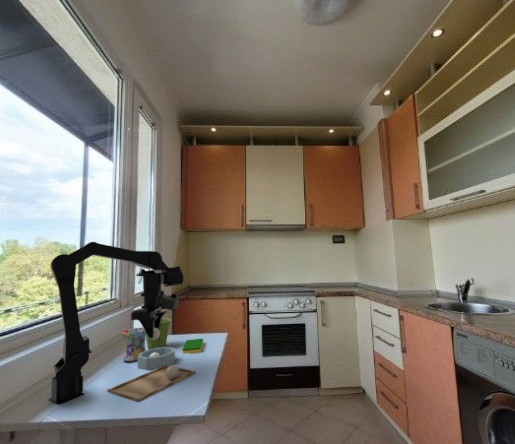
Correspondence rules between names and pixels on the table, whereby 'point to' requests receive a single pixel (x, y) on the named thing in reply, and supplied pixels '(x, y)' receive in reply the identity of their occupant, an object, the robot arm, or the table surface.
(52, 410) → the table surface
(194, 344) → the dish sponge
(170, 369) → the pebble
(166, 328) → the plant pot
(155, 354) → the white ball
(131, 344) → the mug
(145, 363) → the bowl
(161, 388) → the tray
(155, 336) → the pebble
